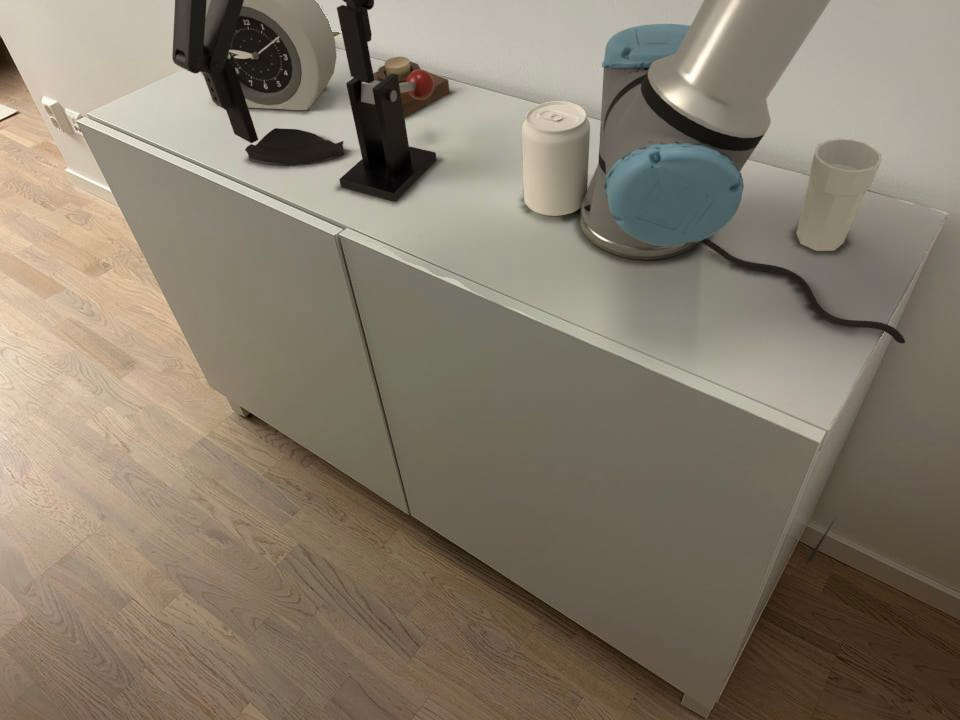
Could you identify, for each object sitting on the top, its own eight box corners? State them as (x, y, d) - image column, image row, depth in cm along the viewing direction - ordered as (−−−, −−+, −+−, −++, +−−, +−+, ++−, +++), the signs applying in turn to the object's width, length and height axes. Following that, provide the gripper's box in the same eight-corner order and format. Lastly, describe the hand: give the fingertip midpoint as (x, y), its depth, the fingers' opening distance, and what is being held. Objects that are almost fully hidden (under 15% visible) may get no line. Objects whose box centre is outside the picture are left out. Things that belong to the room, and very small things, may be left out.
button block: (449, 92, 116) (447, 68, 113) (404, 117, 111) (400, 93, 108) (400, 73, 122) (396, 49, 119) (355, 96, 117) (350, 72, 114)
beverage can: (560, 227, 89) (561, 140, 81) (511, 205, 93) (507, 119, 85) (599, 197, 93) (604, 111, 84) (550, 176, 97) (550, 92, 88)
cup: (794, 216, 88) (819, 134, 80) (853, 227, 85) (884, 144, 77) (785, 248, 84) (810, 165, 76) (846, 260, 81) (878, 176, 73)
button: (416, 71, 114) (414, 60, 113) (397, 81, 112) (396, 70, 111) (399, 65, 116) (397, 54, 115) (381, 74, 114) (379, 63, 113)
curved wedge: (324, 174, 102) (321, 164, 101) (245, 160, 106) (242, 150, 105) (352, 144, 107) (350, 134, 106) (276, 132, 111) (273, 122, 110)
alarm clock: (210, 105, 118) (163, -23, 104) (230, 84, 123) (188, -42, 109) (329, 111, 114) (298, -22, 100) (346, 89, 119) (318, -41, 104)
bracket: (384, 148, 106) (367, 55, 95) (436, 160, 102) (424, 65, 92) (340, 187, 99) (317, 92, 89) (395, 201, 96) (377, 104, 86)
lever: (415, 95, 104) (416, 66, 102) (438, 100, 102) (440, 70, 101) (354, 106, 93) (355, 74, 91) (380, 112, 91) (381, 79, 89)
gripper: (336, -209, 59) (380, 48, 75) (44, -135, 48) (168, 150, 63) (396, -204, 55) (430, 66, 71) (95, -121, 44) (214, 179, 59)
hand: (307, 106), depth 67 cm, fingers open, 13 cm apart
